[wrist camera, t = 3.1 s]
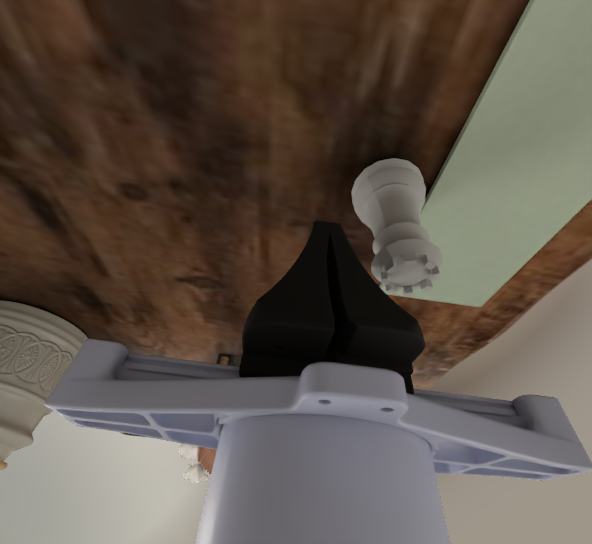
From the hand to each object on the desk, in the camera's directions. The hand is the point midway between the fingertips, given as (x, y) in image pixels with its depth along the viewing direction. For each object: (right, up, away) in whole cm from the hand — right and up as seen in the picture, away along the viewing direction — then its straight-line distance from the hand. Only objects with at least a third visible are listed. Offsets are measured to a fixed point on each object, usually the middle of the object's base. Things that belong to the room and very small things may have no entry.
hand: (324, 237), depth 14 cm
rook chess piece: (+4, +4, +4) cm, 7 cm away
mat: (+12, +3, +4) cm, 13 cm away
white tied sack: (-23, -42, +56) cm, 74 cm away
